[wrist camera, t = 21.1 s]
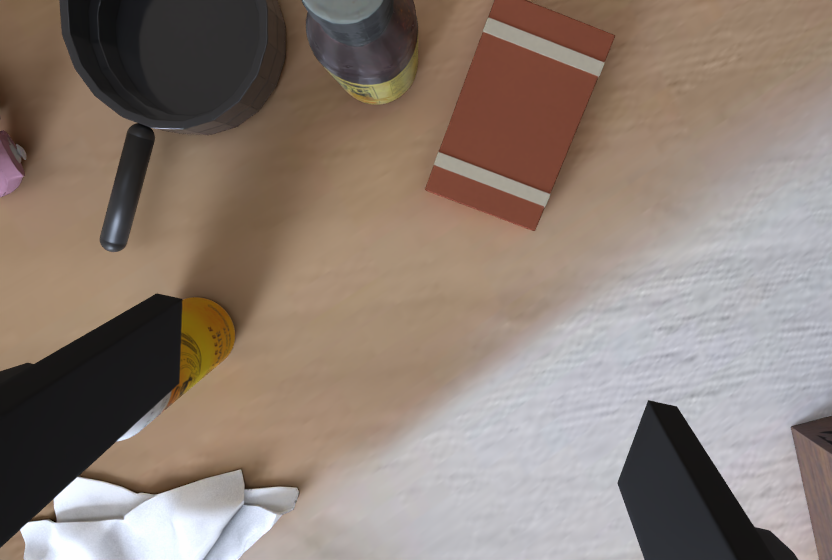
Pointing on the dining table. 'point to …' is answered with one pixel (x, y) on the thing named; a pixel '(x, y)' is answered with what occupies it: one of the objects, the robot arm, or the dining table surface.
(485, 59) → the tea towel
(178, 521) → the cloth
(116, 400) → the robot arm
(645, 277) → the dining table surface
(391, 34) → the sauce bottle
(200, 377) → the beer can
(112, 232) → the pan handle
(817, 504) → the tissue box cover
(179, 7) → the pan
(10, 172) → the video game controller
